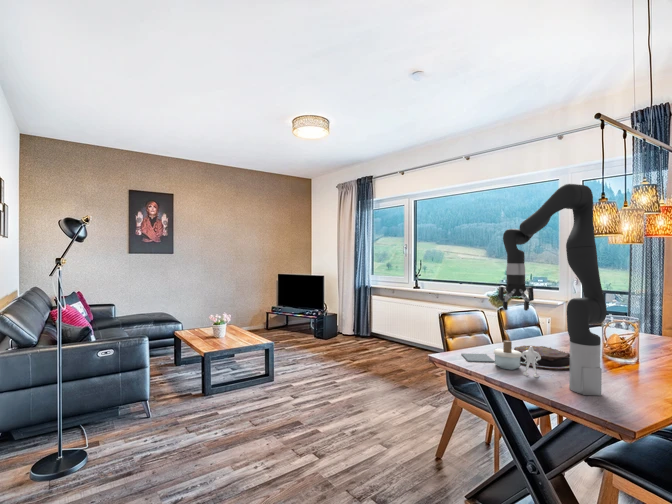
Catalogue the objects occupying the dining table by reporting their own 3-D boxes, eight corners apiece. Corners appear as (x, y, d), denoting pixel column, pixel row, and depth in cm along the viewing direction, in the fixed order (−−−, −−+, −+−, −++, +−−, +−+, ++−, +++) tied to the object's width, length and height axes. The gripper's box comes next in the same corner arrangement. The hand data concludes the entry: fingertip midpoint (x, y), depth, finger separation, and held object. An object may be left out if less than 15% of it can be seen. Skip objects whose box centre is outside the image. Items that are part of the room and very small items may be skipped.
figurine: (541, 375, 149) (541, 346, 149) (540, 379, 145) (540, 348, 145) (521, 372, 152) (521, 343, 152) (520, 375, 149) (520, 345, 149)
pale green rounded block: (524, 371, 155) (524, 357, 155) (499, 370, 156) (499, 357, 156) (514, 363, 165) (514, 351, 165) (491, 363, 166) (491, 350, 166)
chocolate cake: (525, 350, 189) (525, 337, 189) (588, 363, 167) (588, 349, 167) (495, 359, 173) (495, 345, 173) (560, 375, 150) (560, 359, 150)
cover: (526, 358, 154) (526, 344, 154) (498, 357, 155) (499, 344, 155) (515, 351, 165) (515, 338, 165) (489, 350, 166) (490, 338, 166)
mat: (494, 362, 167) (494, 361, 167) (468, 361, 167) (468, 360, 167) (486, 355, 178) (486, 354, 178) (461, 354, 179) (461, 353, 179)
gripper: (502, 273, 163) (502, 311, 162) (536, 274, 161) (536, 311, 161) (496, 273, 170) (496, 308, 170) (528, 273, 169) (529, 309, 168)
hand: (515, 310), depth 165 cm, fingers open, 8 cm apart
